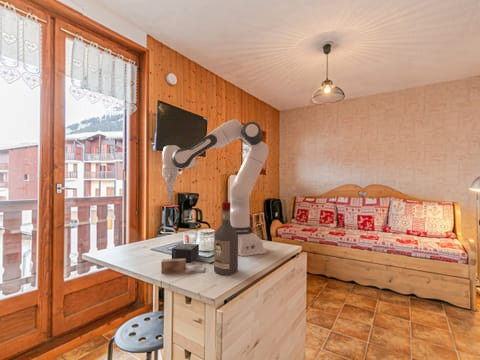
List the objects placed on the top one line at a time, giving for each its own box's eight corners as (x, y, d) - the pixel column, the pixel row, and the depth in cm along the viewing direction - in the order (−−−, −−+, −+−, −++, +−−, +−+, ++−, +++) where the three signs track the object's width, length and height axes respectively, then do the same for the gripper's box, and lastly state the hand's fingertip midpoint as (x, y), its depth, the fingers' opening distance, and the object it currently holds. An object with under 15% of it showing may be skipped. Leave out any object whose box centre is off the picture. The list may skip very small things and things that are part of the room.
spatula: (160, 274, 103) (160, 262, 103) (162, 269, 109) (163, 258, 109) (204, 272, 106) (204, 260, 106) (203, 267, 112) (204, 256, 112)
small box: (171, 261, 120) (191, 262, 118) (171, 248, 120) (191, 249, 118) (180, 255, 130) (199, 256, 128) (180, 242, 130) (199, 243, 128)
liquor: (225, 266, 113) (225, 201, 114) (240, 270, 108) (241, 202, 108) (210, 271, 106) (211, 202, 106) (226, 277, 101) (226, 204, 101)
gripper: (175, 173, 129) (175, 200, 129) (176, 174, 149) (176, 197, 148) (163, 173, 127) (162, 200, 127) (165, 174, 147) (165, 197, 147)
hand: (170, 198), depth 138 cm, fingers open, 8 cm apart
